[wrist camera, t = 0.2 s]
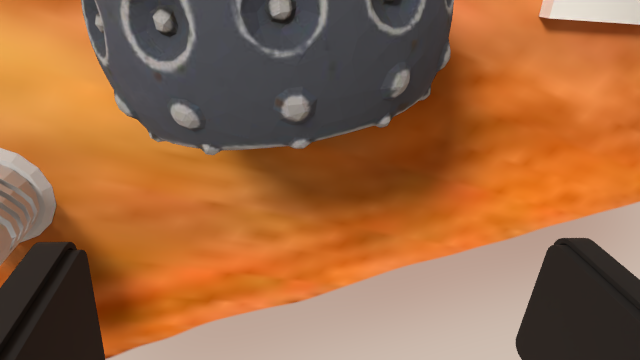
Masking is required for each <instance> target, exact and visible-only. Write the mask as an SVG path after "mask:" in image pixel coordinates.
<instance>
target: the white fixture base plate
mask: <svg viewBox="0 0 640 360" xmlns="http://www.w3.org/2000/svg"><path fill="white" fill-rule="evenodd" d="M539 16H540V17H545V18H551V19H565V20H580V21H595V22H609V23H624V24H639V25H640V0H543V3H542V6H541V10H540V14H539Z"/></svg>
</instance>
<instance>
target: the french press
mask: <svg viewBox="0 0 640 360" xmlns="http://www.w3.org/2000/svg"><path fill="white" fill-rule="evenodd" d="M55 209H56V202H55V197H54V193H53V189H52V186H51V184H50V183H49V182H48V180H47V179H46V178H45V176H44V175H43V174H42V172H41V171H40V170H39V168H38V167H36V166H35V165H33V164H32V163H30V162H29V161H27V160H26V159H25V158H23V157H22V156H20V155H19V154H17V153H14V152H11V151H8V150H5V149H1V148H0V265H1V264H2V263H3V262H4V260H5V259H6V258H7V257H8V256H9V254H10V253H11V252H12V251H13V250H14V248H15V247H16V246H17V245H18V244H19V243H21V242H23V241H26V240H29V239H31V238H34V237H36V236H39V235H40V234H41V233H42V232H43V231H44V230H45V229H46V228H47V227H48V226H49V225H50V224H51V223H52V220H53V216H54V212H55Z"/></svg>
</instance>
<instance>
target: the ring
mask: <svg viewBox="0 0 640 360" xmlns="http://www.w3.org/2000/svg"><path fill="white" fill-rule="evenodd" d="M81 2H82V9H83V15H84V19H85V23H86V27H87V30H88V34H89V38H90V41H91V44H92V47H93V49H94V52H95V54H96V56H97V59H98V61H99V63H100V65H101V67H102V69H103V71H104V73H105V75H106V77H107V79H108V80H109V82H110V84H111V86H112V87H113V89H114V94H115V101H116V103H117V105H118V107H119V109H120V110H121V111H122V112H124V113H125V114H126V115H127V116H130V117H132V118H135V119H137V120H138V121H139V122H140V123H141V124H142V125H143V126H144V127H145V128H146V129H147V130H148V132H149V135H150V137H151V138H152V139H154V140H156V141H157V142H161V141H168V142H171V143H173V144H178V145H182V146H187V147H193V148H200V149H202V150H203V151H204V152H205V153H206V154H209V155H215V154H216V153H218V152H220V151H221V150H244V149H259V148H272V147H283V146H290V147H292V148H294V149H303V148H305V147H306V146H308V145H309V144H310V143H312V142H314V141H318V140H322V139H326V138H330V137H334V136H338V135H342V134H346V133H350V132H354V131H357V130H360V129H364V128H367V127H371V126H377V127H380V128H381V127H385V126H388V124H389V122H390V121H391V119H392V117H394V116H396V115H398V114H400V113H402V112H404V111H406V110H407V109H408V108H410V107H411V106H412V105H414V104H415V103H417V102H418V101H419V100H424V99H426V98H427V97H428V96H429V95H430V91H431V83H432V81H433V79H434V77H435V75H436V73H437V72H438V71H439V70H441V69H442V68H444V67H445V65H446V64H447V62H448V61H449V59H450V45H449V39H448V37H449V32H450V27H451V22H452V14H453V4H454V0H81Z"/></svg>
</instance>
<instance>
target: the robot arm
mask: <svg viewBox="0 0 640 360" xmlns="http://www.w3.org/2000/svg"><path fill="white" fill-rule="evenodd" d="M516 348H517V351H518V354H519V355H520V357H521V359H522V360H640V280H639V279H638V278H637V277H636V276H634V275H633V274H632V273H631V272H630V271H628V270H627V269H626V268H625V267H624V266H622V265H621V264H620V263H619V262H617V261H616V260H615V259H614V258H613V257H612V256H610V255H609V254H608V253H607V252H605V251H604V250H603V249H602V248H601V247H599V246H598V245H597V244H596V243H595V242H593V241H592V240H590V239H588V238H561V239H558V240H557V241H556V242H555V243H554V245H552V246H550V247H549V248H548V250H547V252H546V256H545V258H544V261H543V264H542V267H541V269H540V272H539V275H538V278H537V281H536V283H535V286H534V289H533V292H532V295H531V298H530V300H529V303H528V306H527V309H526V312H525V314H524V317H523V320H522V323H521V326H520V329H519V331H518V334H517V337H516ZM0 360H105V354H104V349H103V343H102V338H101V332H100V326H99V321H98V315H97V309H96V304H95V298H94V292H93V287H92V281H91V275H90V270H89V264H88V258H87V254H86V252H85V251H84V250H77V249H76V246H75V245H74V243H72V242H38V243H36V244H35V245H33V246H32V248H31V249H30V250H29V252H28V253H27V254H26V255H25V257H24V258H23V259H22V261H21V262H20V263H19V265H18V266H17V267H16V268H15V270H14V271H13V272H12V274H11V275H10V276H9V277H8V279H7V280H6V281H5V283H4V284H3V285H2V286H1V288H0Z"/></svg>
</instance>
